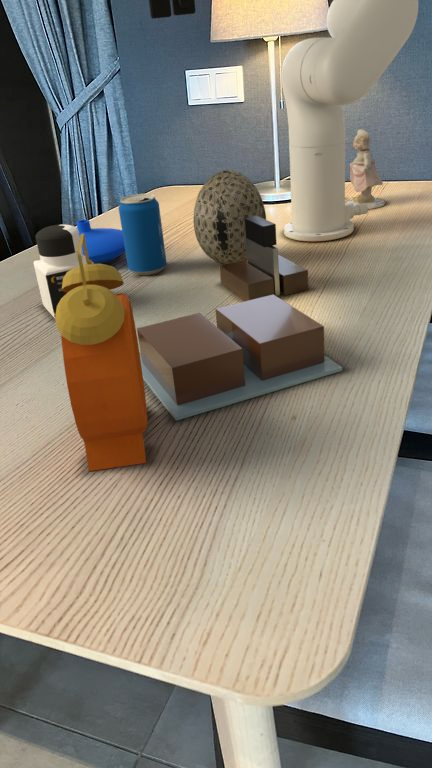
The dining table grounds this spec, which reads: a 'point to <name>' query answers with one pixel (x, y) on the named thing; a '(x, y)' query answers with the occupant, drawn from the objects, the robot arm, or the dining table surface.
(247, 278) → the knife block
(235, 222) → the decorative egg
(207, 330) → the cake
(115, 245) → the vase
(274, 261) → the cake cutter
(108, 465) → the alarm clock
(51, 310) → the medicine bottle
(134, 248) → the beverage can
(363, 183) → the figurine
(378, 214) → the dining table surface
